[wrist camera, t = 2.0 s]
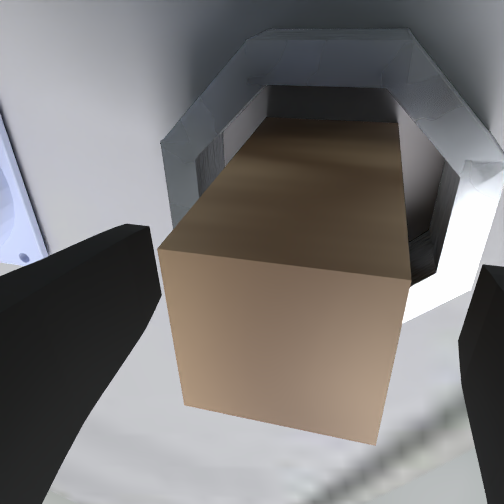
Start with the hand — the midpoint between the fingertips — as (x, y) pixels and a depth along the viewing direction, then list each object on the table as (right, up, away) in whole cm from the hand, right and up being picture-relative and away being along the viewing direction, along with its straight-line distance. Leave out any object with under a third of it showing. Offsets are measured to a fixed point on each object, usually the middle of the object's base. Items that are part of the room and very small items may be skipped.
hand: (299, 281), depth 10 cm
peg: (+1, +3, +5) cm, 6 cm away
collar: (+1, +3, +5) cm, 6 cm away
